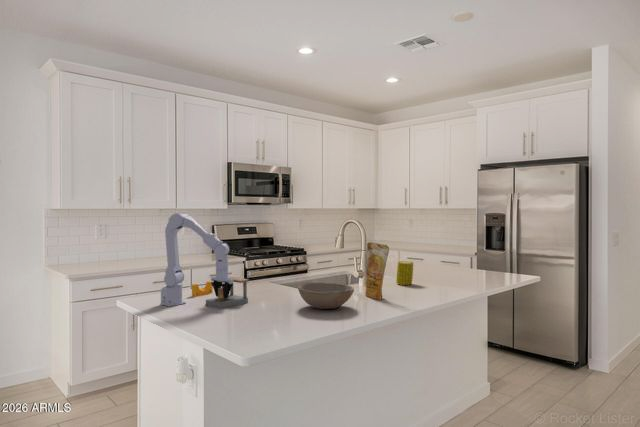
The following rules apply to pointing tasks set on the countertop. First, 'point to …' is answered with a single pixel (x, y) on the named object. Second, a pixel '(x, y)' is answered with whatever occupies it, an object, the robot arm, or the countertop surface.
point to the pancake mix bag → (375, 269)
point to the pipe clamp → (202, 289)
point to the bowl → (325, 294)
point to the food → (404, 273)
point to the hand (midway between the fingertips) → (222, 297)
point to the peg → (221, 295)
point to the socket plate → (231, 296)
